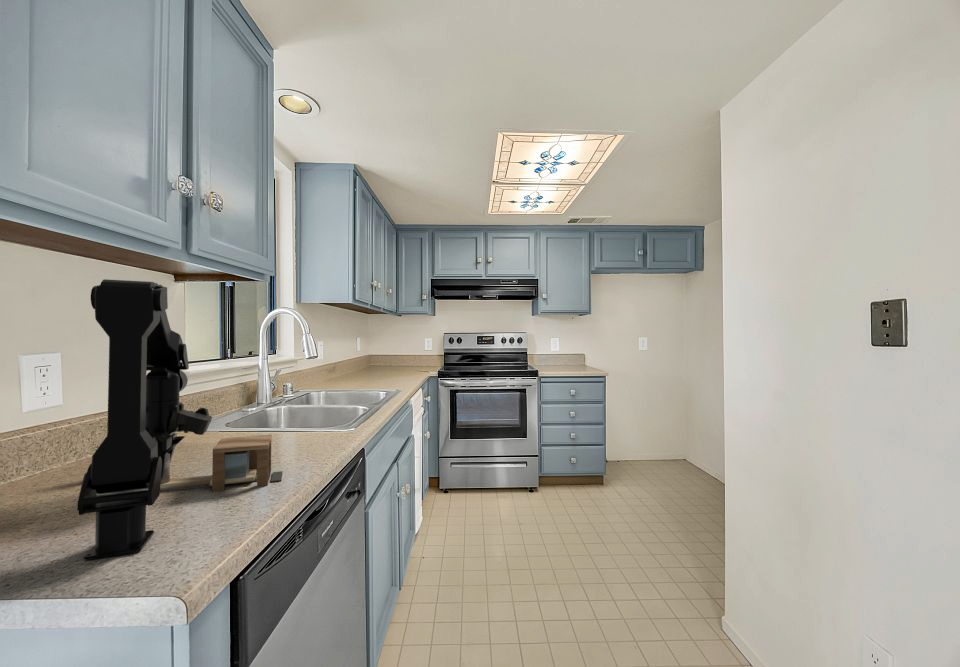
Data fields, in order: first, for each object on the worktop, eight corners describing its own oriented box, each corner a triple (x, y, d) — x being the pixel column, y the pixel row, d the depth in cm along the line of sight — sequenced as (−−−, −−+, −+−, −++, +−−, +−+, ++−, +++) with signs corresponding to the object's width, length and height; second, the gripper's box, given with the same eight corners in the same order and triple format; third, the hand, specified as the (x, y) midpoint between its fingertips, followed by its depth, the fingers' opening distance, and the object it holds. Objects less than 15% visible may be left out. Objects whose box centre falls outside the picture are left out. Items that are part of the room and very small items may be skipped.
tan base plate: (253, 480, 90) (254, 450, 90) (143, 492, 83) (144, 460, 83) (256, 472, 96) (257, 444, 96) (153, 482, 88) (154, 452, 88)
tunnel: (267, 485, 89) (268, 444, 89) (212, 491, 86) (212, 449, 86) (271, 471, 99) (271, 434, 99) (221, 476, 95) (221, 438, 95)
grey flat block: (281, 481, 92) (281, 479, 92) (270, 482, 91) (270, 480, 91) (282, 472, 98) (282, 471, 98) (272, 473, 97) (272, 472, 97)
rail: (269, 479, 93) (269, 477, 93) (81, 500, 81) (81, 496, 81) (269, 476, 95) (269, 473, 95) (87, 495, 83) (87, 492, 83)
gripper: (197, 404, 81) (196, 486, 81) (217, 392, 98) (216, 460, 98) (125, 407, 77) (123, 494, 77) (158, 394, 94) (157, 465, 94)
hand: (161, 476), depth 86 cm, fingers closed on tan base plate, 3 cm apart
